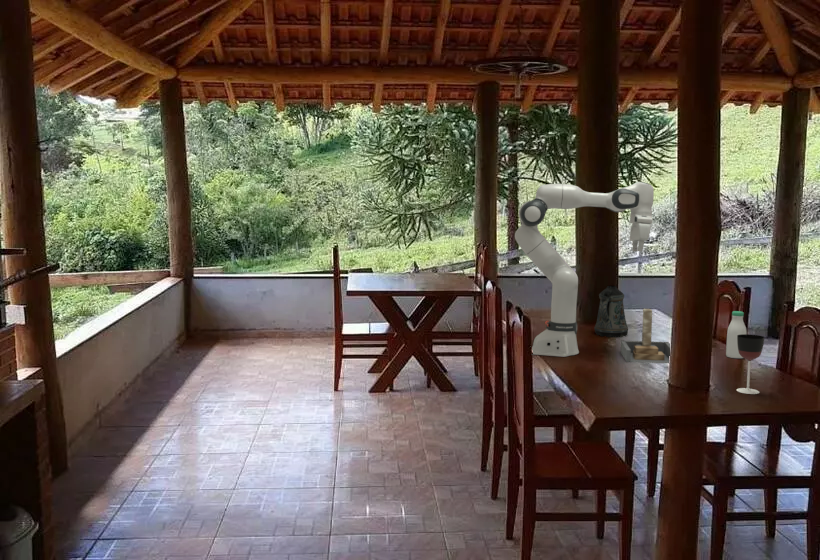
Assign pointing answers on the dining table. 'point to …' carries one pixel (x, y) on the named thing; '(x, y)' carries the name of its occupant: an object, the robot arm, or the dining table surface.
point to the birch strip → (647, 327)
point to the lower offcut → (649, 356)
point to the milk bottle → (735, 334)
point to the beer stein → (611, 314)
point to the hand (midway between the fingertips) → (637, 251)
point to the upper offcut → (645, 349)
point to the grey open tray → (628, 346)
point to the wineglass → (749, 354)
